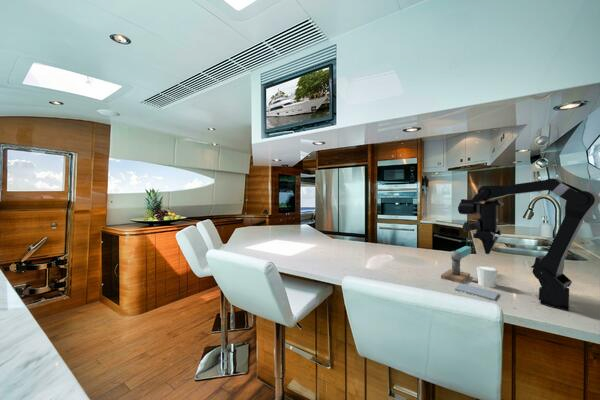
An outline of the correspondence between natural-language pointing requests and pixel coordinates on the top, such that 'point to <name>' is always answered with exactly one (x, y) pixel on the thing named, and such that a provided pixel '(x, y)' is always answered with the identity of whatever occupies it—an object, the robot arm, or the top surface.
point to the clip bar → (460, 253)
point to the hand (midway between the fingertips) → (487, 253)
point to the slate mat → (477, 291)
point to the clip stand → (455, 273)
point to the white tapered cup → (487, 276)
